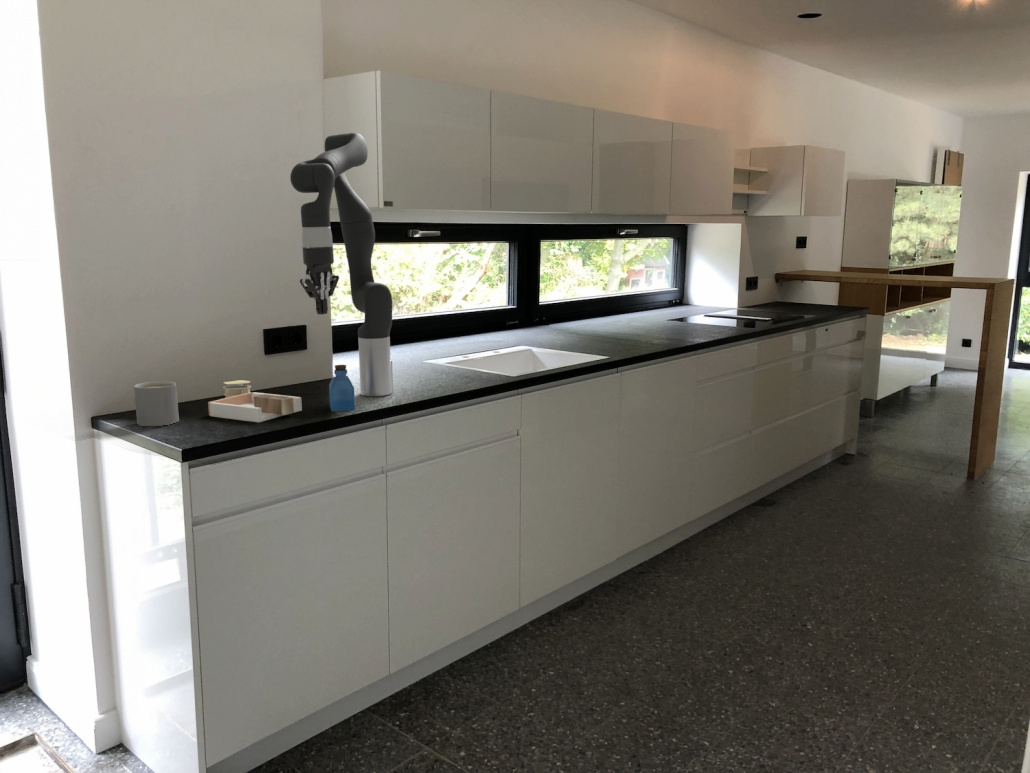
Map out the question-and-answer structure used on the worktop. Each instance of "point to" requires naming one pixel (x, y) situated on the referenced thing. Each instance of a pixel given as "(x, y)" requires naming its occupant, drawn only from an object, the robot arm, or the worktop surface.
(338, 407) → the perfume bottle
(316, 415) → the worktop surface
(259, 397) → the walnut block
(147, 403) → the coffee mug
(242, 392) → the glass food container
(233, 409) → the tray
